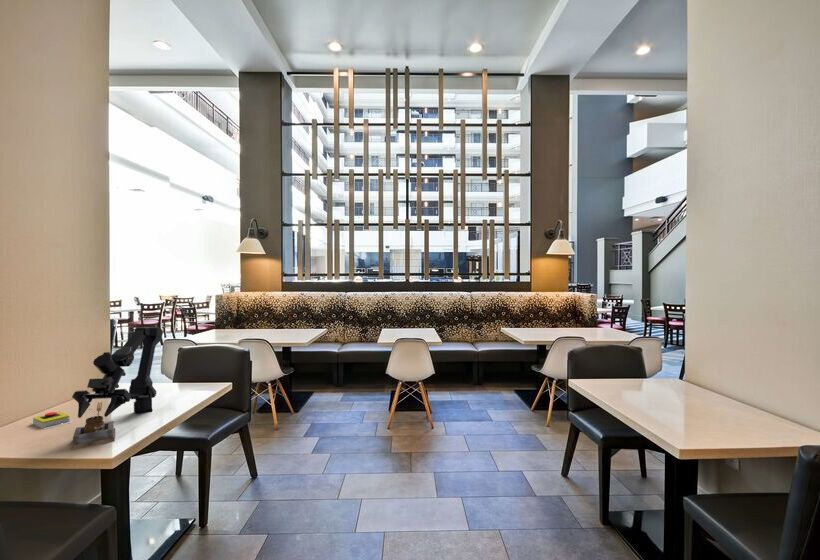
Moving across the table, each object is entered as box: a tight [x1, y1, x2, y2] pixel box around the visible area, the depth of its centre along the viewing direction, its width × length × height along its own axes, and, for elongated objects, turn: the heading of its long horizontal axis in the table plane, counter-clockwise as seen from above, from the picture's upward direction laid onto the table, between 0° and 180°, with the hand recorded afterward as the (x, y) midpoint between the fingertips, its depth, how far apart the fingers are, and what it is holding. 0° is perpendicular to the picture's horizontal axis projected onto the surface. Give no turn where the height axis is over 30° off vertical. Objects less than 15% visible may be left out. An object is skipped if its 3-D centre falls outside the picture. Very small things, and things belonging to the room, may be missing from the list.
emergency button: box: [32, 411, 73, 430], centre depth 169 cm, size 9×4×15 cm
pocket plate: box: [70, 420, 116, 450], centre depth 150 cm, size 12×12×4 cm
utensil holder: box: [84, 401, 105, 434], centre depth 150 cm, size 6×6×12 cm
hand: (92, 416), depth 149 cm, fingers open, 9 cm apart
